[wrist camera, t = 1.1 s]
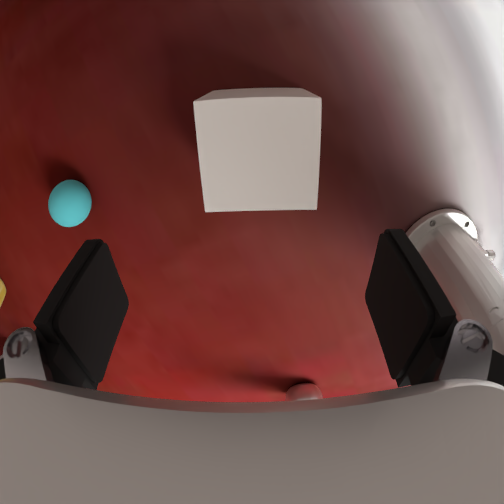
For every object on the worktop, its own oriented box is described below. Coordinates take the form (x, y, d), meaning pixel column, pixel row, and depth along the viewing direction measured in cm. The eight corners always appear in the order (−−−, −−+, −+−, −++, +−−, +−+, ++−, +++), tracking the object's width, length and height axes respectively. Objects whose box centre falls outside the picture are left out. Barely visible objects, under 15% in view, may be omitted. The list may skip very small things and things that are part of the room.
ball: (93, 169, 28) (69, 189, 23) (103, 210, 30) (83, 234, 26) (58, 175, 28) (34, 195, 24) (70, 214, 31) (49, 237, 27)
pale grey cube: (301, 87, 23) (321, 97, 16) (301, 167, 28) (316, 209, 20) (213, 90, 23) (193, 101, 16) (219, 169, 28) (205, 212, 21)
